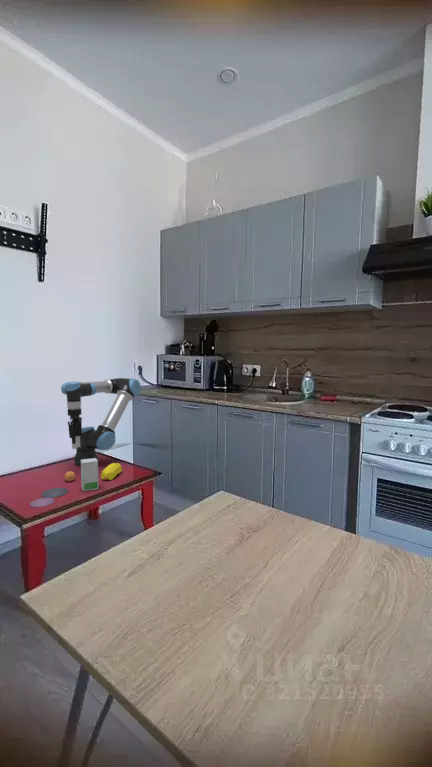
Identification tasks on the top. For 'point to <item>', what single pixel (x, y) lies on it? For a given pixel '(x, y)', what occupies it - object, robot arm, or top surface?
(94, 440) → the robot arm
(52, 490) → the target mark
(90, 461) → the skincare box
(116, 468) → the yellow elongated piece
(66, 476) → the ball
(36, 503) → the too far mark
